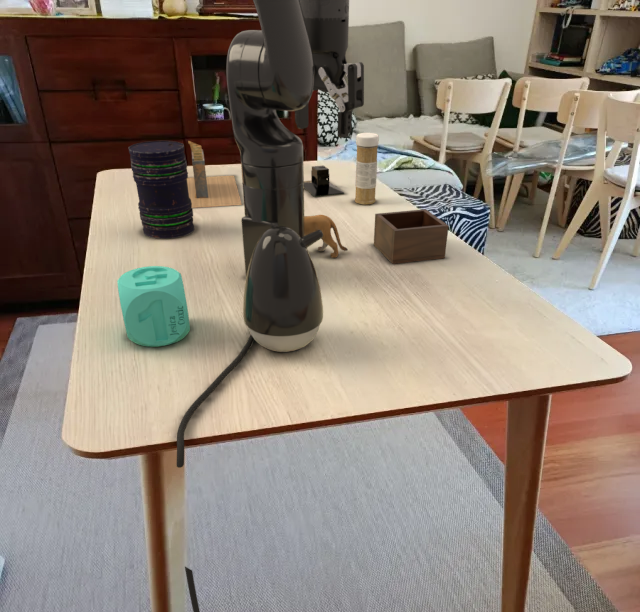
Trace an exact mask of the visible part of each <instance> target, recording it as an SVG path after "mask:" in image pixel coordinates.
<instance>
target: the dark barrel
mask: <svg viewBox="0 0 640 612" xmlns="http://www.w3.org/2000/svg"><path fill="white" fill-rule="evenodd" d="M128 153H129V155H130V156H129V159H130V166H131V167H130V168H131V172H132V178H133V181H134V183H135V185H136V191H137V198H138V203H137V205H138V211H139V213H138V214H139V219H140V221H141V225H142V232H143V235H144V236H145V237H148V238H150V239H157V240H171V239H177V238H182V237H185V236H188V235H191V234H192V233H193V232H194V231H195V225H194V210H193V209H194V208H192V203H191V199H190V198H189V192H188V184H187V178H189V175H188V174H189V172H188V163H187V159H186V153H185V145H184V143H182V142H179V141H175V140H174V141H173V140H150V141H142V142H138V143H134V144H131V145H130V146H128Z"/></svg>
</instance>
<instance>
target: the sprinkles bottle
mask: <svg viewBox="0 0 640 612" xmlns="http://www.w3.org/2000/svg"><path fill="white" fill-rule="evenodd" d="M355 138H356V139H355V145H356V162H355V164H356V165H355V183H354V184H355V197H354V202H355V203H357V204H359V205H373V204H374V203H376V188H377V176H378V175H377V173H378V148H379V143H380V142H379V140H380V137H379V134H377V133H375V132H361V133H358V134H356V137H355Z"/></svg>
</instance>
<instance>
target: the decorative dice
mask: <svg viewBox="0 0 640 612" xmlns="http://www.w3.org/2000/svg"><path fill="white" fill-rule="evenodd" d="M116 281H117V291H118V297H119V303H120V304H119V305H120V310H121V314H122V319H123V320H122V321H123V324H124V328H125V333H126V337H127V339H128V340H129V341H130V342H132V343H134V344H136V345H139V346H142V347H149V348H156V347H158V348H159V347H165V346H169V345H173V344H176V343H178V342H180V341H182V340H183V339H184V338H186V336H187V335H188V334H189V332H190V331H191V324H190V317H189V309H188V303H187V296H186V292H185V286H184V280H183V277H182V273H181V272H180V271H178V270H177V269H175V268H173V267H169V266H164V265H149V266H142V267H137V268H133V269H130V270H128V271H126V272H124V273H123V274H121V275H120V276H119V277H118V279H117V280H116Z"/></svg>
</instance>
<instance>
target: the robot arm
mask: <svg viewBox="0 0 640 612" xmlns="http://www.w3.org/2000/svg"><path fill="white" fill-rule="evenodd" d="M252 3H253V5H254V8H255V11H256V13H257V17H258V21H259V25H260V29H261V30H260V29H248V30H247V29H246V30H242V31H241V32H238V33H237V34H236V35H235V36H234V37H233V39H232V41H231V43H230V44H229V47H228V51H227V56H226V69H225V71H226V86H227V93H228V100H229V101H228V102H229V108H230V109H229V110H230V117H231V124H232V132H233V138H234V141H235V143H236V145H237V147H238V150H239V156H240V168H241V180H242V195H243V197H242V198H243V208H244V216H242V217H241V219H240V221H241V232H242V244H243V245H242V246H243V258H244V270H245V277H246V276H247V271H248V267H249V264H250V260H251V257H252V254H253V252H254V249H255V247H256V244H257V242H258V240H259V239H260V237H261V236H262V234H263V233H264V232H265V231H267V230H268V229H270V228H273V227H276V226H284V227H288V228H290V229H292V230H294V231H295V232H296V233H297V234H298V235H299V236H300V237H303V236H305V223H304V216H305V189H304V181H305V176H304V174H305V173H304V171H305V170H304V168H305V167H304V144H303V141H302V139H301V138H300V137H299V136H298V135H297V134H295V133H294V132H292V131H291V130H289V129H288V127H286V126H285V125H284V124H283V123H282V122H281V120H280V118H279V116H278V113H277V111H283V112H284V111H285V112H294V122H295V125H296V128H297V129H299V130H303V129H306V128H308V127H309V102H310V99H311V97H312V95H313V92H314V91H320V92H322V93H328V94H329V96H330V99H332V100H334V102H335V104H336V107H337V108H338V110H339V111H338V112H337V137H338V138H341V139H343V138H347V137H348V136H349V135H350V133H352V129H353V128H352V124H353V123H352V122H353V111H354V110H355V109H358V108H361V107H364V105H365V104H364V103H365V65H364V63H363V62H362V61H359V62H353V63H349V62H348V61H347V57H346V54H347V50H348V47H349V25H350V24H349V23H350V22H349V21H350V0H252ZM346 79H347V81H346ZM254 341H255V339H254V338H253V337H252V335H251V333H250V334H249V337H248V339H247V341H246V343H245V344H244V346H243V348H242V349H241V350H240V352H239V353H238V355H237V356H236V357H235V358H234V359H233V360H232V362H231V363H230V364H229V365H228V366H227V367H226V368H225V369H224V370H223V371H222V372H221V373H220V374H219V375H218V376H217V377H216V378H215V379H214V381H212V383H211V384H209V386H208V387H207V388H206V389H205V390H204V392H202V393H201V394H200V395H199V396H198V397H197V398H196V400H194V401H193V403H192V404H190V406H189V407H188V409H187V410H186V411H185V413H184V415H183V417H182V418H181V421H180V423H179V425H178V427H177V433H176V467H177V468H179V469H180V468H183V467H184V465H185V431H186V428H187V426H188V424H189V422H190V420H191V418H192V417H193V415H194V414H195V412H196V411H197V410H198V408H199V407H200V406H201V405H202V404H203V403H204V402H205V401H206V400H207V399H208V398H209V396H211V395H212V394H213V393H214V391H215V390H216V389H217V388H218V387H219V386H220V384H221V383H222V382H223V381H224V380H225V379H226V378H227V377H228V376H229V375H230V374H231V373H232V372H233V370H234V369H236V368H237V367H238V365H239V364H240V363H241V362H242V361H243V359H244V358H245V357H246V355H247V354H248V352H249V351H250V349H251V346H252V345H253V343H254ZM184 570H185V577H186V582H187V587H188V588H187V589H188V592H189V598H190V603H191V608H192V612H201V610H200V606H199V601H198V596H197V591H196V584H195V579H194V573H193V569H191V568H189V567H187V566H184Z"/></svg>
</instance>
